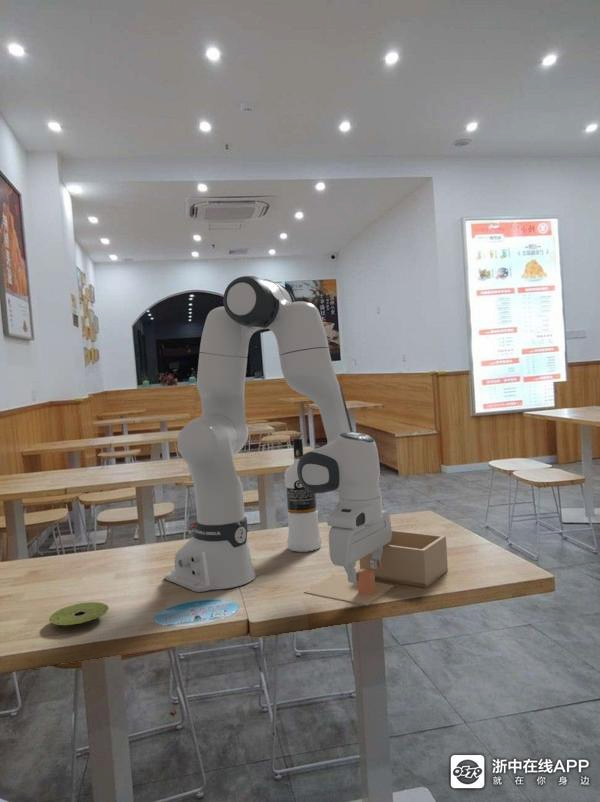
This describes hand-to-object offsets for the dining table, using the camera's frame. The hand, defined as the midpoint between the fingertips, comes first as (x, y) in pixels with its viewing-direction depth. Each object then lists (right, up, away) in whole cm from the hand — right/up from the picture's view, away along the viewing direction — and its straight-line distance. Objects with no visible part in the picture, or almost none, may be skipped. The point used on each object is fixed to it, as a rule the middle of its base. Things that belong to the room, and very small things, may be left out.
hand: (365, 574), depth 124 cm
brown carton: (+10, -3, +10) cm, 15 cm away
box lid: (-3, -5, +3) cm, 6 cm away
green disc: (-58, -8, -5) cm, 59 cm away
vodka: (-12, -4, +35) cm, 38 cm away
